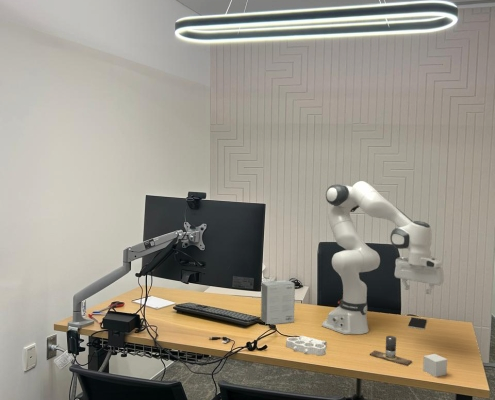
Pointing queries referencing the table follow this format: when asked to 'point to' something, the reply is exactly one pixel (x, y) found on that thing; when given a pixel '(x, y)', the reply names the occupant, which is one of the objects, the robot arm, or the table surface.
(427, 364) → the white cube
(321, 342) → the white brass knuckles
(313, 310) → the table surface
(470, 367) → the table surface
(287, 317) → the hard drive box
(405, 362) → the strip
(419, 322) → the smartphone
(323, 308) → the table surface
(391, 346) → the bottle with black cap
